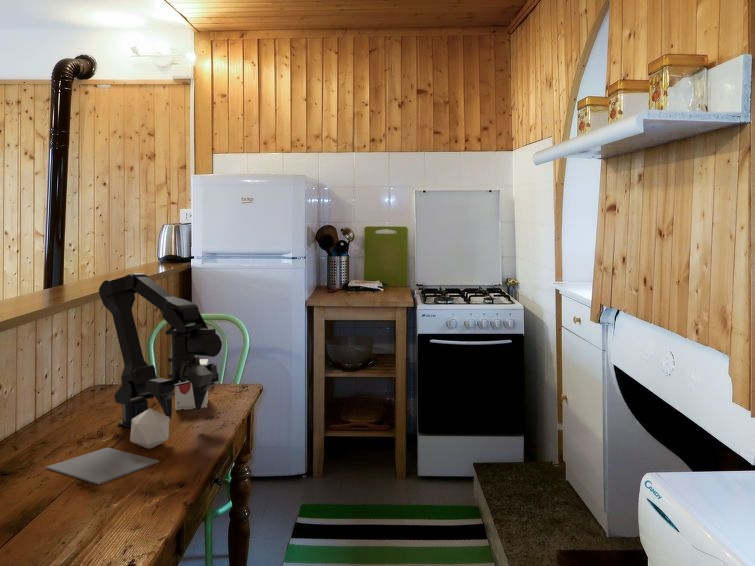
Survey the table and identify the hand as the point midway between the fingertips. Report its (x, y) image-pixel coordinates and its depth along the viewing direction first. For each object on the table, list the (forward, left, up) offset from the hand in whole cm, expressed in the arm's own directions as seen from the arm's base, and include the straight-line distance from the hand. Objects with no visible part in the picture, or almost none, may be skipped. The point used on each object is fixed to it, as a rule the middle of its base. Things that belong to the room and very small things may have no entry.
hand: (184, 414), depth 151 cm
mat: (0, -23, -6) cm, 24 cm away
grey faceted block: (0, -10, -6) cm, 12 cm away
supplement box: (-17, +19, -6) cm, 26 cm away
